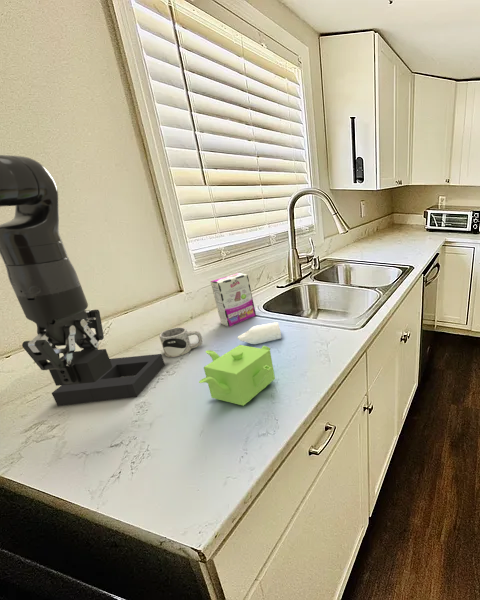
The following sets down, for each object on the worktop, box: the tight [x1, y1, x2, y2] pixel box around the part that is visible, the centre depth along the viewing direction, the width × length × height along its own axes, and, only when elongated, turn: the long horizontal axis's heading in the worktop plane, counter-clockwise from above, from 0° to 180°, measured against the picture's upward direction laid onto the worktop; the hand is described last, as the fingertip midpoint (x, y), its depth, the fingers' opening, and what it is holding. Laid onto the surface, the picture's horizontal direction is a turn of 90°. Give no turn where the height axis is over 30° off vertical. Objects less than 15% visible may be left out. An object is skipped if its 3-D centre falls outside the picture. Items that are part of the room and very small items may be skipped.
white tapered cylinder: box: [236, 321, 282, 345], centre depth 101 cm, size 6×12×6 cm, turn 121°
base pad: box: [51, 353, 166, 407], centre depth 81 cm, size 16×14×4 cm
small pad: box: [48, 348, 112, 387], centre depth 59 cm, size 6×5×4 cm
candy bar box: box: [210, 272, 257, 328], centre depth 114 cm, size 11×5×16 cm, turn 150°
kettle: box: [198, 344, 276, 407], centre depth 76 cm, size 15×14×11 cm
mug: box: [158, 326, 204, 358], centre depth 96 cm, size 10×7×7 cm, turn 114°
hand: (84, 374), depth 60 cm, fingers closed on small pad, 5 cm apart
